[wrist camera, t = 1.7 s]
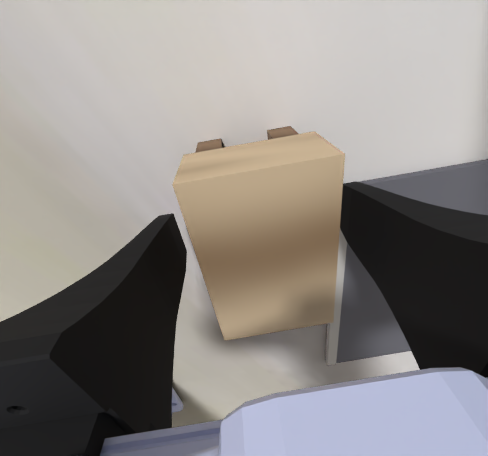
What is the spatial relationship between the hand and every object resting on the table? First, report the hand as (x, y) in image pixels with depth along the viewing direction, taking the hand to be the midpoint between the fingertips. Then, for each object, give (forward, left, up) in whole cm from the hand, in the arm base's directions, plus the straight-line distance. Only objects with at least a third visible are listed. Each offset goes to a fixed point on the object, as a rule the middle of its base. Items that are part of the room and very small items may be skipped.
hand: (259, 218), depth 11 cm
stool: (0, 0, -2) cm, 2 cm away
